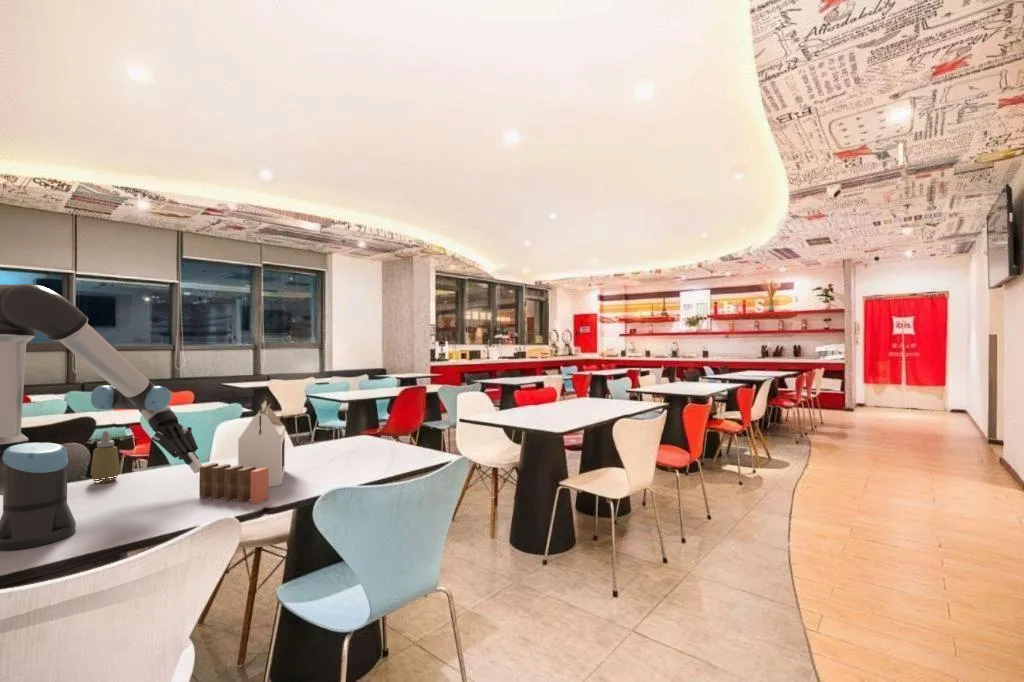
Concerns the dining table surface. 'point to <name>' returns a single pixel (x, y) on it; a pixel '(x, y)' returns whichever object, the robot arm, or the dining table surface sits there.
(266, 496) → the domino
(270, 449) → the gable box
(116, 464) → the squeeze bottle
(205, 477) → the domino
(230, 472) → the domino
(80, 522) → the dining table surface
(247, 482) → the domino
